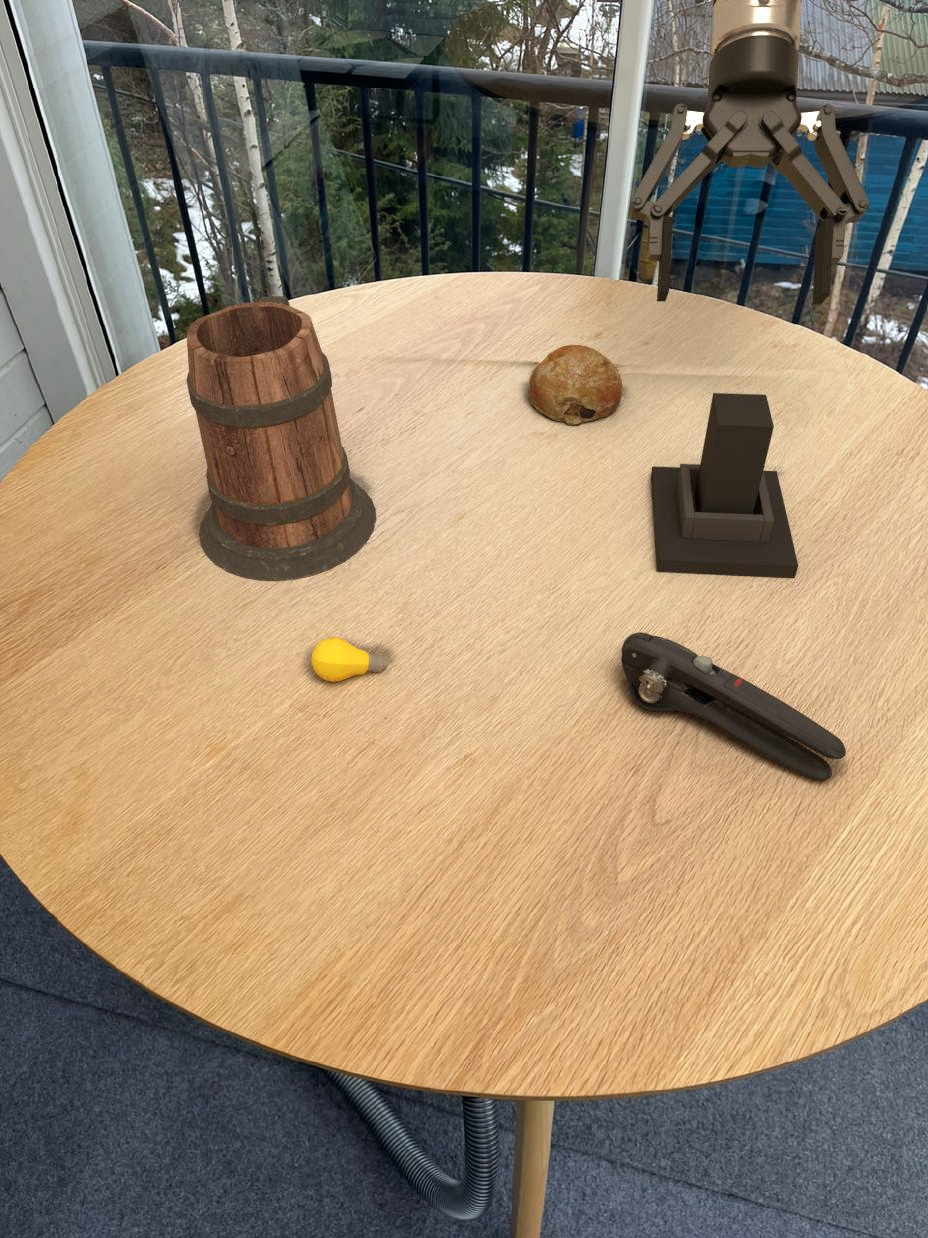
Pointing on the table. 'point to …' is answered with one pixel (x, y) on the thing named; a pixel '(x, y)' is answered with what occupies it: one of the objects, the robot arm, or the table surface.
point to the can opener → (726, 704)
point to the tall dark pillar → (734, 453)
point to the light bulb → (343, 660)
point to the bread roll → (575, 385)
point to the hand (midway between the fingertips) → (741, 298)
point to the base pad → (719, 530)
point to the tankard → (272, 445)
